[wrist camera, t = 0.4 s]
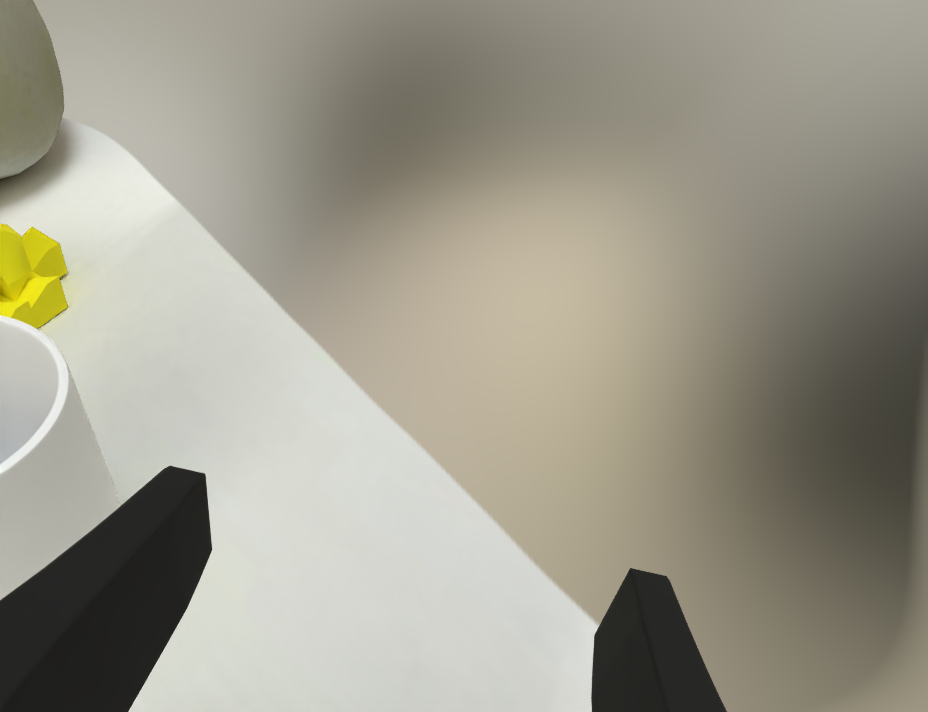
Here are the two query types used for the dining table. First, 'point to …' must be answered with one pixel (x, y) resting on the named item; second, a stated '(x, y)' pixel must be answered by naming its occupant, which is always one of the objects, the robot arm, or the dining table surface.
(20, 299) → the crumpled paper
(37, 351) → the mug
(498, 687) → the dining table surface
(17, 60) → the skull
